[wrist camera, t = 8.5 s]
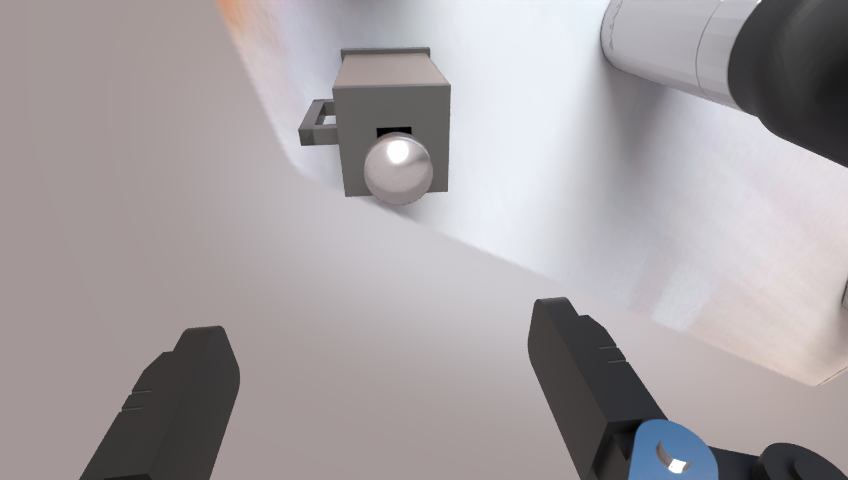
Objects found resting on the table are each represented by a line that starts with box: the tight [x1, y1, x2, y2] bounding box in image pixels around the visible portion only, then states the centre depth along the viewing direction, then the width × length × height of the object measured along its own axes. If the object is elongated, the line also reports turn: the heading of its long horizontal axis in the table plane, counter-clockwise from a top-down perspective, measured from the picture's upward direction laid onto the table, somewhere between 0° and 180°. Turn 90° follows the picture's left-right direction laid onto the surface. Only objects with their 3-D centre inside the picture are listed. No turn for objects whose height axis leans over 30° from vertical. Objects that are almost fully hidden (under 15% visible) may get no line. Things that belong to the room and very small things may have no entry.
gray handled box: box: [298, 47, 451, 197], centre depth 34 cm, size 11×8×16 cm
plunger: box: [364, 127, 433, 205], centre depth 31 cm, size 6×6×17 cm
